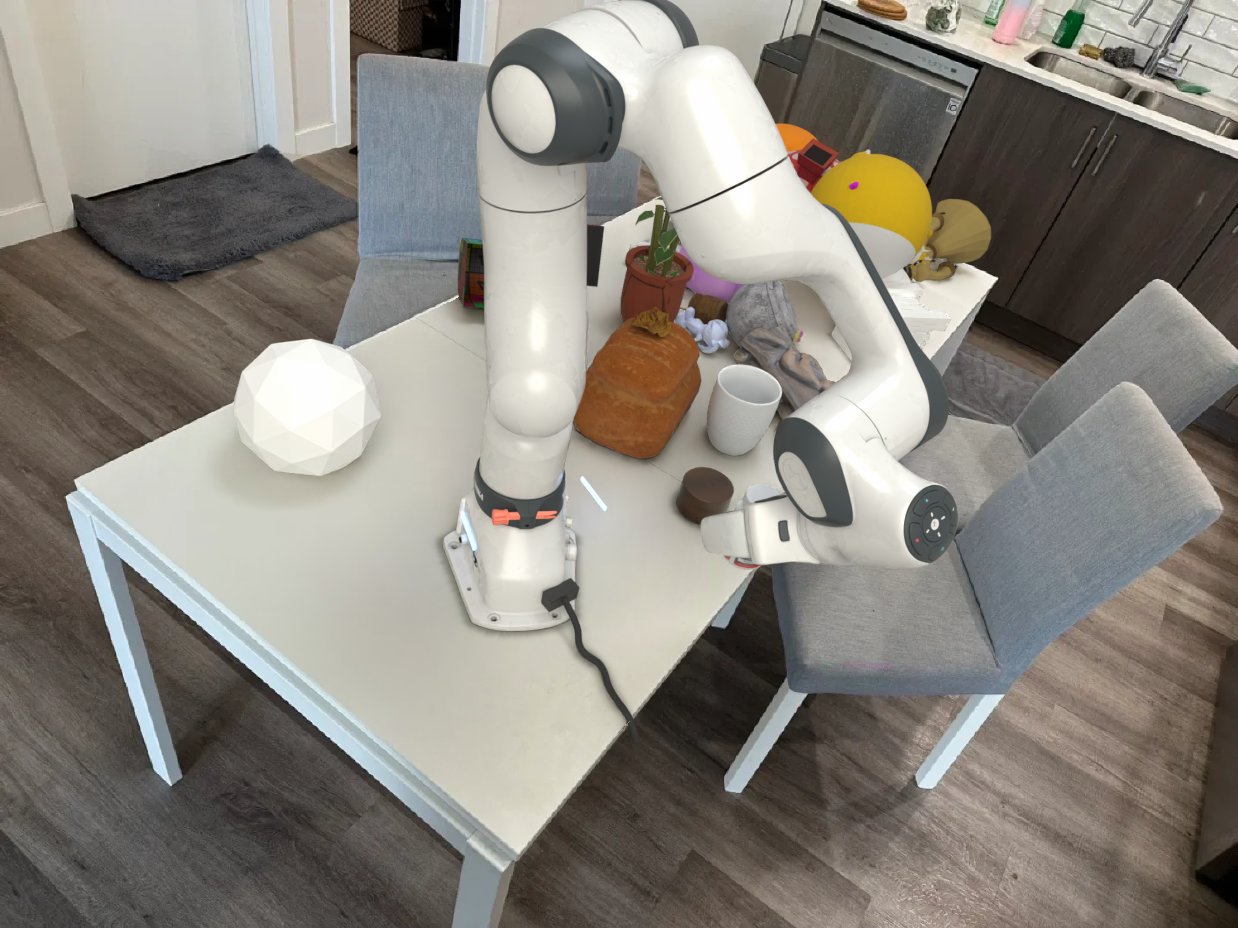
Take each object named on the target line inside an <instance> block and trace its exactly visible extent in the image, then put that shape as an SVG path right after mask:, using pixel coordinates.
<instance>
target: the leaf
mask: <svg viewBox="0 0 1238 928" xmlns="http://www.w3.org/2000/svg"><path fill="white" fill-rule="evenodd" d="M669 317H670V315H669V314H667V313H664V312H662V311H660V310H659V309H658V308H657V307H655V306H654V307H653V308H652V309H650V310H647V311H643V312H641V313H639V314H637V315H635V317H634V319H633V321H632V322H631V324H632V325H635V326H639V327H640V328H645V329H648V330H649V332H653V334H655V333H657V334H659V336H660V337H661V336H662V337H664V336H665V335H667V334H669V333H671V325H672V322H669Z"/></svg>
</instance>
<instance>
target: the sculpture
mask: <svg viewBox="0 0 1238 928" xmlns="http://www.w3.org/2000/svg"><path fill="white" fill-rule="evenodd" d="M740 345H741V346H742V347H740V348H739V349H737V350H736V351H735V352H734V354H733V358H734V360H735V361H736V363H737V364H736V365H749V366H753V367H756V368H759V369H761V370H763V371H765V372H767V373H769V374H770V375H772V376H773V377H774V378H775V379H776V380H777V381H778V382H779V384H780V386H781V388H782V396H781V399H780V401H779V404H778V407H777V409H776V412H778V414H779V416H780V418H781V421H782V420H784V419H786V418H787V417H788V416H789V415H791V414H792V413H793V412H795V411H796V410H797V409H798V408H800V407H801V406H803V405H804V404H805V403H807V402H808V401H809V400H811V399H812V398H814V397H815V396H817V395H819V394H821V393H822V392H823V391H825V390H826V389H828V388H829V387H830V386H832V385H833V384H834V383H836V382H837V381H836V382H835V381H834V380H830V379H827V377H826V375H825V374H824V373H825V372H824V370H823V367H822V366H821V364H820V362H819V360H818V359H816V358H815V357H814V356H812V355H810V354H808V353H806V352H801V351H800V350H799V349H798V348H797V347H796V346H795V344H793V343H792V341H791V338H790V336H789V334H788V333H787V332H783V331H782V330H781V329H780V328H779V327H776V328H774V329H772V330H765V329H763V328H757V329H755V330H753V331H751V332H750V333H749V334H748V335H747V336H746V337H745V338H744V339H743V340H742V341H741V343H740Z"/></svg>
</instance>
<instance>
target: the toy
mask: <svg viewBox="0 0 1238 928" xmlns="http://www.w3.org/2000/svg"><path fill="white" fill-rule="evenodd" d="M839 162H840V163H839V164H837V165H836V166H834V167H833V168H831V169H830V170H829V171H828V172H826V173H825V174H824V176H823V177H822V178H821V179H820V180H819V181H818V183H817V184H816V185H815V187H814V188H813V190H812V192H811V195H812V196H813V197H814V198H815V199H816V200H817V201H818V202H819V203H822V204H827V205H830V206H832V207H833V208H835V209H836V210H837V211H839V212H840V213H841V214H842V215H843V216H844V218H845V219H846V220H847V221H848V223H849V224H850V225H851V227H852V228H853V230H854V231H855V233H856V234H857V236H858V238H859V239H860V241H861V243H862V244H863V246H864V248H865V250H866V251H867V253H868V255H869V257H870V259H871V260H872V262H873V264H874V266H875V268H876V270H877V271H878V273H879V275H880V277H881V279H882V278H885V277H887V276H890V275H892V274H894V273H896V272H897V271H899V270H900V269H902V268H903V267H905V266H908V267H913V266H917V265H918V266H919V265H920V263H921V264H925V262H924V260H926V261H932V259H930V258H929V256H928V257H927V256H926V252H929V251H931V250H926V247H925V245H924V243H925V241H926V238H927V237H928V238H929V237H931V236H932V235H933V232H932V230H929V229H930V226H931V220H932V214H933V205H932V200H931V196H930V195H931V194H930V192H929V189H928V187H927V185H926V183H925V182H924V180H923V178H922V176H921V175H920V174H919V173H918V172H917V171H916V170H915V169H914V168H913V167H912V166H911V165H909V164H907V162H904V161H903V160H901V159H898V158H897V157H893V156H891V155H886V154H881V153H871V150H870V149H866V150H865V151H860V152H856V153H854V154H853V155H852V156H850V157H849V158H847V159H844V160H842V161H839Z"/></svg>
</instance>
